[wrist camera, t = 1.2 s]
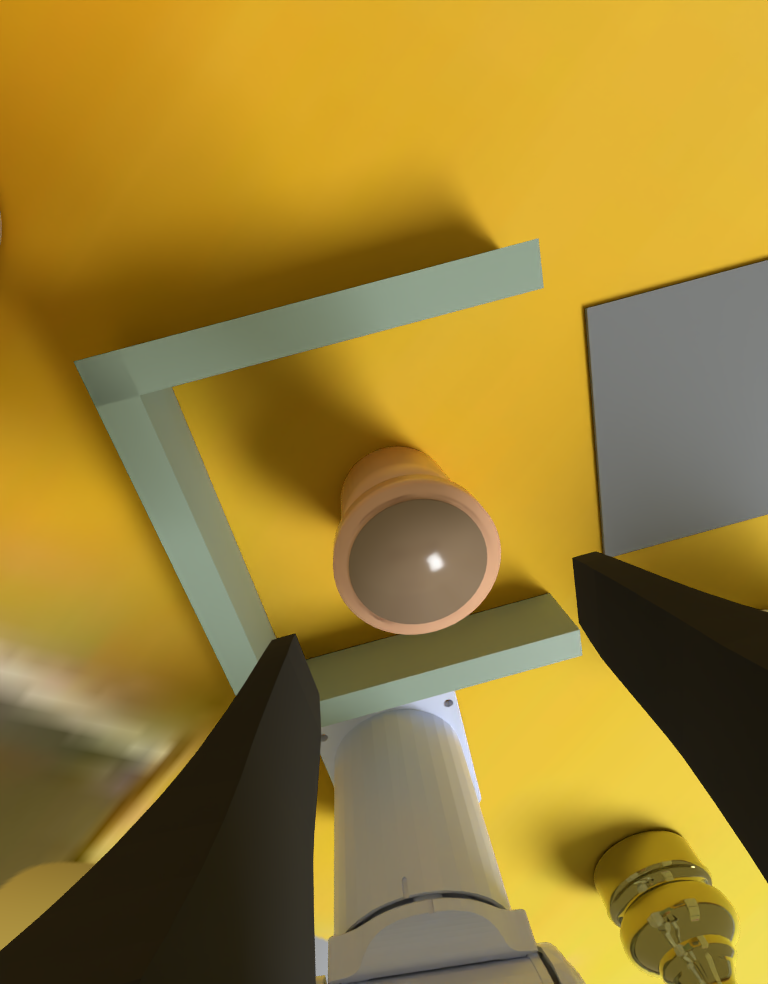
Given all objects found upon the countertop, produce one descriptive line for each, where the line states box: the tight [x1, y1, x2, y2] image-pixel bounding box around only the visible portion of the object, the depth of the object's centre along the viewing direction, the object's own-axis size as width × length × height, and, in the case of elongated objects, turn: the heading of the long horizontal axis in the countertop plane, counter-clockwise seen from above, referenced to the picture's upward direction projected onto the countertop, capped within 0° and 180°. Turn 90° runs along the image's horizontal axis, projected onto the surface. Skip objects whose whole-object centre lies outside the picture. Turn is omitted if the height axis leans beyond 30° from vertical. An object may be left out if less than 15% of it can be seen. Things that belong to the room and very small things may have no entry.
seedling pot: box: [333, 446, 501, 635], centre depth 17 cm, size 6×6×6 cm
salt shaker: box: [594, 831, 740, 984], centre depth 27 cm, size 7×7×10 cm
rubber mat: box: [585, 260, 768, 557], centre depth 20 cm, size 12×9×1 cm
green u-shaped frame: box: [74, 239, 582, 727], centre depth 19 cm, size 18×16×3 cm
